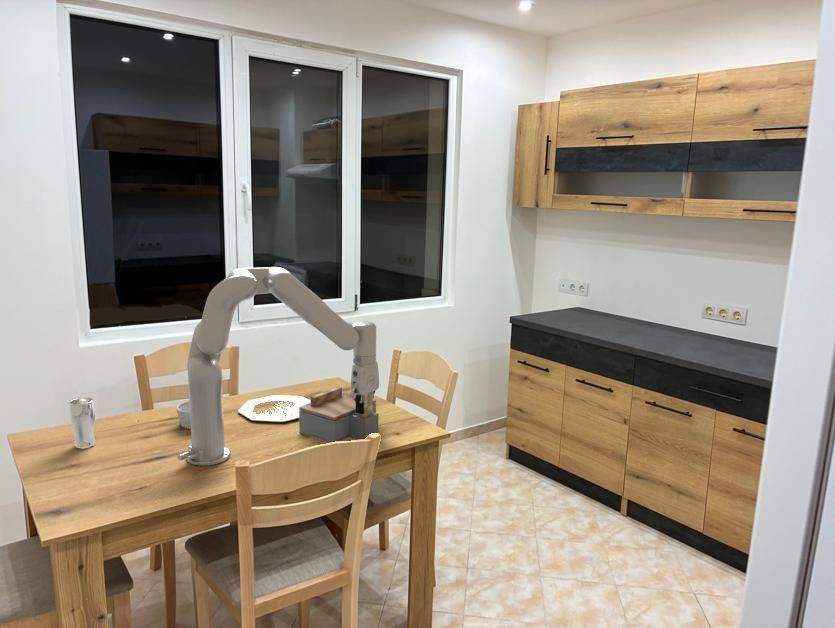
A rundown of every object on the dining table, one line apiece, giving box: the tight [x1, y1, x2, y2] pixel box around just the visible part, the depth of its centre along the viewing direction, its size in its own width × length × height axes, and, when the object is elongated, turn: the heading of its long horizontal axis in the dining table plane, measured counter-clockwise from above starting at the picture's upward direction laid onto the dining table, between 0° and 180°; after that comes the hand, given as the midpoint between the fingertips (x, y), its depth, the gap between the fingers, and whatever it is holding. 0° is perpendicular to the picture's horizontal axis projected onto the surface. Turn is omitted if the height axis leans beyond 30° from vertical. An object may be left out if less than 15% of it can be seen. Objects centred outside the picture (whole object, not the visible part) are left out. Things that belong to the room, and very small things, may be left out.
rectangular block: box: [356, 392, 374, 418], centre depth 204 cm, size 4×4×14 cm
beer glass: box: [69, 397, 97, 447], centre depth 192 cm, size 7×7×15 cm
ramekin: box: [176, 400, 191, 430], centre depth 213 cm, size 13×13×7 cm
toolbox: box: [298, 402, 380, 443], centre depth 210 cm, size 22×23×8 cm
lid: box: [299, 386, 377, 421], centre depth 211 cm, size 22×16×4 cm
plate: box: [237, 394, 311, 423], centre depth 229 cm, size 28×28×2 cm
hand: (364, 410), depth 205 cm, fingers closed on rectangular block, 4 cm apart
